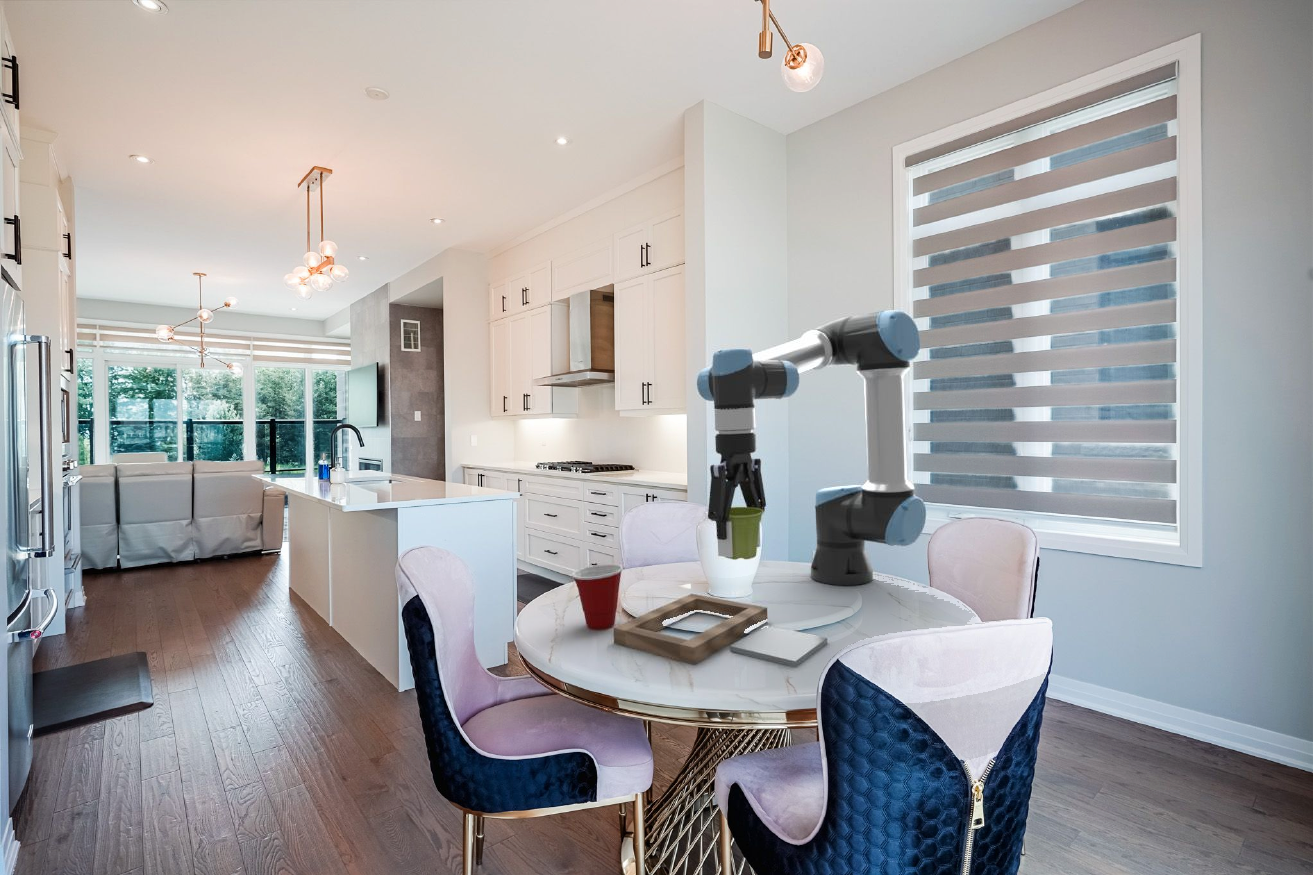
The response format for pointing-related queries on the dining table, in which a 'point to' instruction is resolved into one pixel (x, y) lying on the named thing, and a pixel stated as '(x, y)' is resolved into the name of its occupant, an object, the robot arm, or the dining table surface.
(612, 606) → the plastic cup
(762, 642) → the slate coaster
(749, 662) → the dining table surface
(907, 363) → the robot arm
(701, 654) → the open rectangular wooden frame
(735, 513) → the plant pot
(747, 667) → the dining table surface
